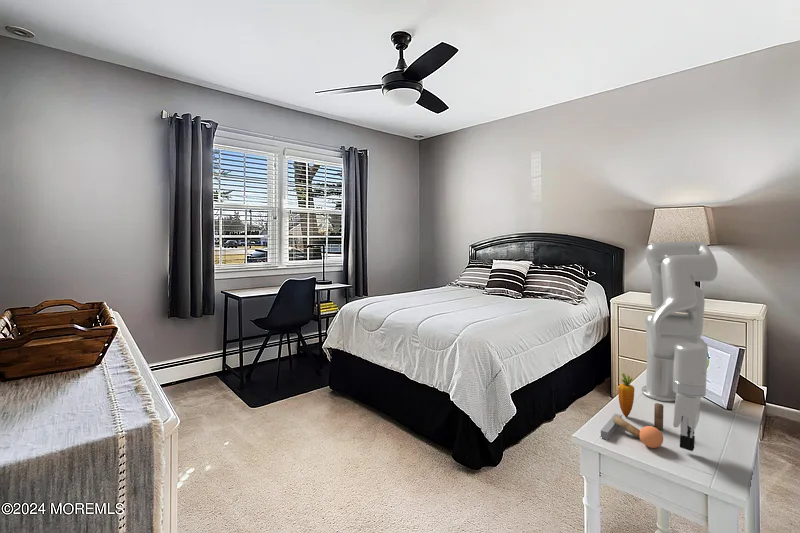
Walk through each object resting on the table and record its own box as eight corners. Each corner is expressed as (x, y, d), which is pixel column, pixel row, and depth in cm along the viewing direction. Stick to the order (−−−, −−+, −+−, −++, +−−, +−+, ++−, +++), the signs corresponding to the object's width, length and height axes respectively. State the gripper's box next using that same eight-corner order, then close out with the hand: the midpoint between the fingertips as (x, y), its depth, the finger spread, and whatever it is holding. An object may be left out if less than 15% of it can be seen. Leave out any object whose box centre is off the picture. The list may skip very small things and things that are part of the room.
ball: (656, 420, 118) (667, 435, 119) (635, 423, 122) (646, 437, 123) (656, 436, 114) (667, 451, 115) (634, 438, 118) (646, 453, 118)
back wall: (614, 420, 134) (615, 413, 134) (621, 422, 133) (621, 415, 133) (600, 437, 124) (600, 430, 124) (607, 440, 123) (607, 432, 123)
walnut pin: (655, 425, 130) (655, 402, 129) (663, 428, 128) (664, 404, 127) (653, 429, 128) (653, 405, 127) (662, 431, 126) (662, 407, 125)
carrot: (636, 420, 134) (637, 377, 132) (620, 419, 135) (621, 377, 133) (631, 413, 138) (631, 372, 137) (615, 412, 139) (616, 371, 138)
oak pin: (640, 437, 124) (614, 420, 129) (643, 430, 123) (617, 414, 129) (637, 439, 122) (611, 422, 128) (640, 433, 122) (614, 416, 127)
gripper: (678, 375, 120) (676, 433, 122) (667, 392, 110) (665, 455, 112) (709, 381, 115) (707, 441, 117) (701, 400, 105) (698, 465, 107)
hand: (686, 448), depth 115 cm, fingers closed
